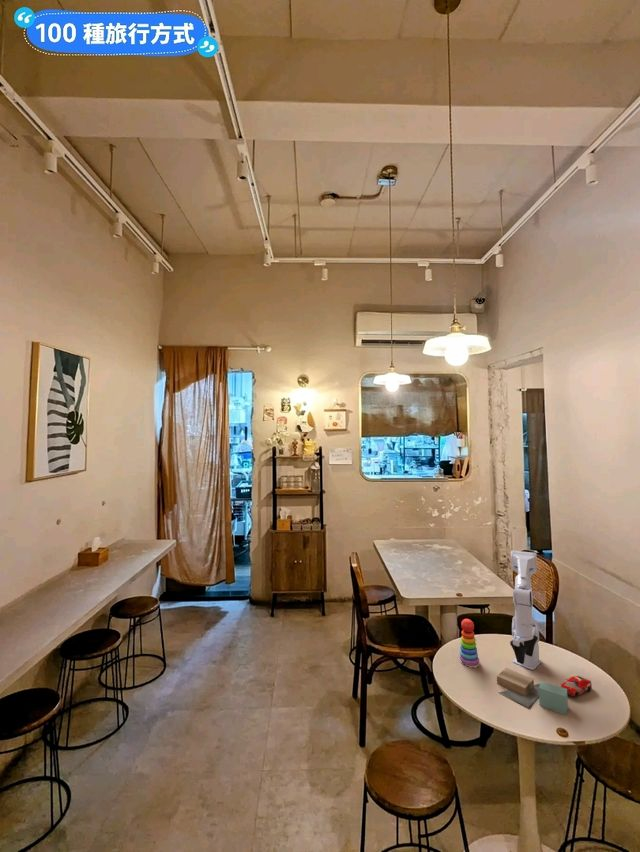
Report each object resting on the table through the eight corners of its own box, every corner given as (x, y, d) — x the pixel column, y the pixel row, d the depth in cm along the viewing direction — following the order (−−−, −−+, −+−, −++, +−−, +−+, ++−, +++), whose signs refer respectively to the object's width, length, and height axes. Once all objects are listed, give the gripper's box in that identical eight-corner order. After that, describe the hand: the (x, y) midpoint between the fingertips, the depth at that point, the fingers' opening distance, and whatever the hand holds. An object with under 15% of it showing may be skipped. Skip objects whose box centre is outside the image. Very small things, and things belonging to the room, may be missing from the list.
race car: (572, 699, 139) (572, 687, 139) (557, 690, 144) (557, 679, 144) (595, 690, 145) (595, 679, 145) (579, 682, 149) (579, 671, 150)
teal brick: (541, 698, 141) (540, 680, 141) (567, 707, 136) (567, 689, 136) (539, 705, 137) (538, 687, 137) (566, 715, 132) (565, 696, 132)
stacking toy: (462, 658, 167) (461, 613, 168) (482, 664, 162) (480, 618, 163) (456, 667, 160) (455, 620, 161) (477, 673, 156) (475, 625, 157)
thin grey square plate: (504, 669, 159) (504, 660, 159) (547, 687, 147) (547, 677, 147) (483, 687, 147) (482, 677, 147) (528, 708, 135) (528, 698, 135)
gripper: (520, 613, 156) (521, 648, 155) (504, 624, 146) (505, 661, 146) (540, 618, 150) (541, 655, 150) (523, 630, 141) (525, 669, 140)
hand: (524, 659), depth 147 cm, fingers open, 7 cm apart
